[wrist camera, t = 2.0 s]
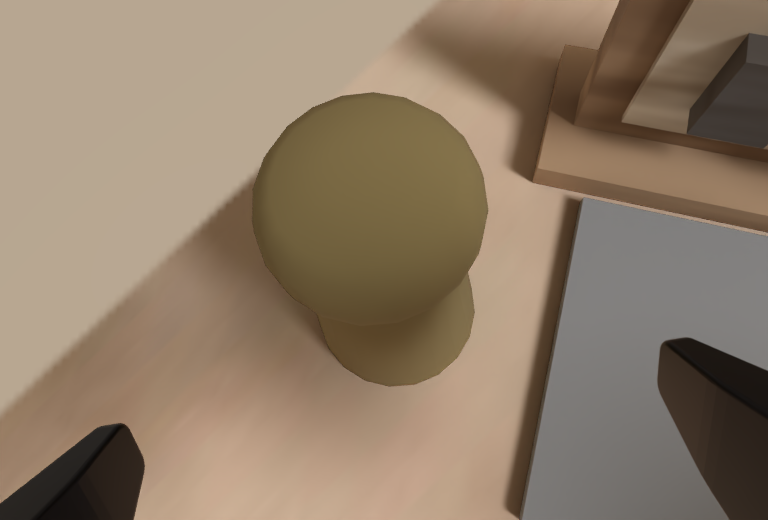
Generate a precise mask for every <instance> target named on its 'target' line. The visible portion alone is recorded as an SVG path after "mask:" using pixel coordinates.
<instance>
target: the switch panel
mask: <svg viewBox="0 0 768 520" xmlns="http://www.w3.org/2000/svg"><path fill="white" fill-rule="evenodd" d="M532 182H533V183H538V184H543V185H547V186H552V187H557V188H562V189H566V190H571V191H576V192H581V193H585V194H590V195H595V196H599V197H604V198H609V199H614V200H618V201H623V202H628V203H632V204H637V205H642V206H647V207H651V208H656V209H661V210H665V211H670V212H675V213H680V214H684V215H689V216H694V217H698V218H703V219H708V220H713V221H717V222H722V223H727V224H732V225H736V226H741V227H746V228H750V229H755V230H760V231H765V232H768V0H620V1H619V3H618V6H617V8H616V10H615V13H614V15H613V17H612V20H611V22H610V24H609V27H608V29H607V31H606V34H605V36H604V38H603V41H602V43H601V45H600V48H599V50H594V49H588V48H582V47H576V46H570V45H565V47H564V50H563V53H562V56H561V59H560V62H559V65H558V69H557V74H556V78H555V83H554V87H553V92H552V96H551V101H550V105H549V110H548V114H547V118H546V123H545V127H544V132H543V136H542V141H541V145H540V150H539V154H538V159H537V163H536V168H535V172H534V176H533V181H532Z"/></svg>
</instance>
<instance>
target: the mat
mask: <svg viewBox="0 0 768 520" xmlns="http://www.w3.org/2000/svg"><path fill="white" fill-rule="evenodd" d="M683 337H689V338H693V339H695V340H697V341H700V342H702V343H704V344H707V345H709V346H711V347H714V348H716V349H718V350H721V351H723V352H725V353H728V354H730V355H732V356H735V357H737V358H739V359H742V360H744V361H746V362H749V363H751V364H753V365H756V366H758V367H760V368H763V369H765V370H767V371H768V236H763V235H758V234H753V233H749V232H744V231H739V230H735V229H730V228H725V227H721V226H716V225H711V224H707V223H702V222H697V221H693V220H688V219H683V218H678V217H674V216H669V215H664V214H660V213H655V212H650V211H646V210H641V209H636V208H632V207H627V206H622V205H617V204H613V203H608V202H603V201H599V200H594V199H589V198H585V197H584V198H583V199H582V201H581V202H580V205H579V210H578V215H577V220H576V225H575V231H574V236H573V241H572V246H571V251H570V257H569V262H568V267H567V272H566V277H565V282H564V288H563V293H562V298H561V303H560V308H559V314H558V319H557V324H556V329H555V334H554V340H553V345H552V350H551V355H550V360H549V366H548V371H547V376H546V381H545V386H544V391H543V397H542V402H541V407H540V412H539V417H538V423H537V428H536V433H535V438H534V443H533V449H532V454H531V459H530V464H529V469H528V474H527V480H526V485H525V490H524V495H523V500H522V506H521V511H520V516H519V520H729V518H728V517H727V515H726V514H725V512H724V511H723V509H722V508H721V506H720V505H719V503H718V501H717V500H716V498H715V497H714V495H713V494H712V492H711V491H710V489H709V487H708V486H707V484H706V482H705V481H704V479H703V477H702V476H701V474H700V472H699V470H698V468H697V466H696V464H695V462H694V460H693V458H692V457H691V455H690V453H689V451H688V449H687V447H686V445H685V443H684V441H683V439H682V437H681V435H680V433H679V431H678V429H677V427H676V425H675V423H674V421H673V419H672V417H671V415H670V413H669V411H668V409H667V407H666V405H665V403H664V401H663V399H662V397H661V395H660V392H659V390H658V385H657V374H658V363H659V352H660V346H661V344H662V343H663V342H664V341H665V340H670V339H676V338H683Z"/></svg>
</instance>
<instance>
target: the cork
mask: <svg viewBox="0 0 768 520" xmlns="http://www.w3.org/2000/svg"><path fill="white" fill-rule="evenodd" d="M487 214H488V205H487V198H486V191H485V184H484V178H483V174H482V171H481V168H480V166H479V164H478V162H477V160H476V158H475V156H474V154H473V153H472V151H471V149H470V147H469V145H468V143H467V141H466V139H465V138H464V136H463V135H462V134H460V133H459V132H458V131H457V130H456V129H455V128H454V127H453V126H452V125H451V124H450V123H449V122H448V121H447V120H445V119H444V118H443V117H442V116H441V115H440V114H438V113H436V112H434V111H432V110H430V109H428V108H425V107H423V106H421V105H419V104H417V103H415V102H413V101H411V100H409V99H407V98H404V97H399V96H392V95H386V94H380V93H374V92H373V93H364V94H355V95H346V96H340V97H338V98H335V99H333V100H330V101H328V102H325V103H323V104H320V105H318V106H315V107H313V108H311V109H310V110H308V111H307V112H306V113H304V114H303V115H302V116H300V117H299V118H298V119H296V120H295V121H294V122H292V123H291V124H290V125H288V126H287V127H286V129H285V130H284V131H283V133H282V134H281V135H280V137H279V138H278V139H277V141H276V142H275V143H274V145H273V146H272V147H271V149H270V150H269V152H268V153H267V154H266V156H265V157H264V159H263V162H262V165H261V168H260V170H259V173H258V176H257V179H256V182H255V185H254V187H253V216H252V223H253V228H254V233H255V236H256V239H257V242H258V245H259V248H260V251H261V254H262V256H263V259H264V262H265V265H266V266H267V268H268V269H269V270H270V271H271V273H272V274H273V275H274V276H275V278H276V279H277V280H278V281H279V283H280V284H281V285H282V286H283V288H284V289H285V290H286V291H287V292H288V293H289V294H290V295H291V296H292V297H293V298H294V299H295V300H297V301H298V302H300V303H301V304H303V305H305V306H306V307H308V308H310V309H311V310H313V311H314V312H316V313H317V316H318V319H319V322H320V326H321V328H322V331H323V334H324V337H325V339H326V342H327V345H328V347H329V349H330V350H331V352H332V353H333V354H334V355H335V356H336V358H337V359H338V360H339V361H340V363H341V364H342V365H343V366H344V367H345V368H346V369H348V370H349V371H351V372H353V373H354V374H356V375H357V376H359V377H360V378H362V379H364V380H365V381H369V382H373V383H378V384H382V385H386V386H401V385H414V384H417V383H419V382H422V381H424V380H426V379H429V378H431V377H434V376H436V375H438V374H439V373H441V372H442V371H443V370H444V369H445V368H446V367H447V366H449V365H450V364H451V363H452V362H453V361H454V360H455V359H456V358H457V357H458V356H459V354H460V352H461V351H462V349H463V347H464V345H465V344H466V342H467V340H468V338H469V337H470V333H471V328H472V323H473V318H474V313H475V312H474V304H473V296H472V288H471V284H470V280H469V275H468V271H469V269H470V267H471V266H472V264H473V262H474V261H475V259H476V257H477V256H478V254H479V251H480V247H481V243H482V239H483V234H484V229H485V224H486V219H487Z"/></svg>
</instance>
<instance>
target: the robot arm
mask: <svg viewBox="0 0 768 520" xmlns="http://www.w3.org/2000/svg"><path fill="white" fill-rule="evenodd" d="M657 385H658V390H659V392H660V395H661V397H662V399H663V401H664V403H665V405H666V407H667V409H668V411H669V413H670V415H671V417H672V419H673V421H674V423H675V425H676V427H677V429H678V431H679V433H680V435H681V437H682V439H683V441H684V443H685V445H686V447H687V449H688V451H689V453H690V455H691V457H692V458H693V460H694V462H695V464H696V466H697V468H698V470H699V472H700V474H701V476H702V477H703V479H704V481H705V482H706V484H707V486H708V487H709V489H710V491H711V492H712V494H713V495H714V497H715V498H716V500H717V501H718V503H719V505H720V506H721V508H722V509H723V511H724V512H725V514H726V515H727V517H728V518H729V520H768V371H767V370H765V369H763V368H760V367H758V366H756V365H753V364H751V363H749V362H746V361H744V360H742V359H739V358H737V357H735V356H732V355H730V354H728V353H725V352H723V351H721V350H718V349H716V348H714V347H711V346H709V345H707V344H704V343H702V342H700V341H697V340H695V339H693V338H689V337H683V338H676V339H670V340H665V341H664V342H663V343H662V344H661V346H660V352H659V363H658V374H657ZM144 468H145V465H144V459H143V456H142V454H141V452H140V450H139V448H138V446H137V443H136V441H135V439H134V437H133V435H132V433H131V431H130V429H129V428H128V427H127V426H126V425H125V424H122V423H118V424H111V425H105V426H100V427H98V428H96V429H95V430H94V431H92V432H91V433H90V434H89V435H87V436H86V437H85V438H83V439H82V440H81V441H80V442H78V443H77V444H76V445H75V446H73V447H72V448H71V449H69V450H68V451H67V452H66V453H64V454H63V455H62V456H60V457H59V458H58V459H57V460H55V461H54V462H53V463H52V464H50V465H49V466H48V467H46V468H45V469H44V470H43V471H41V472H40V473H39V474H37V475H36V476H35V477H34V478H32V479H31V480H30V481H29V482H27V483H26V484H25V485H23V486H22V487H21V488H20V489H18V490H17V491H16V492H14V493H13V494H12V495H11V496H9V497H8V498H7V499H6V500H4V501H3V502H2V503H0V520H134V516H135V511H136V507H137V502H138V498H139V493H140V489H141V484H142V480H143V475H144Z"/></svg>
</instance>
